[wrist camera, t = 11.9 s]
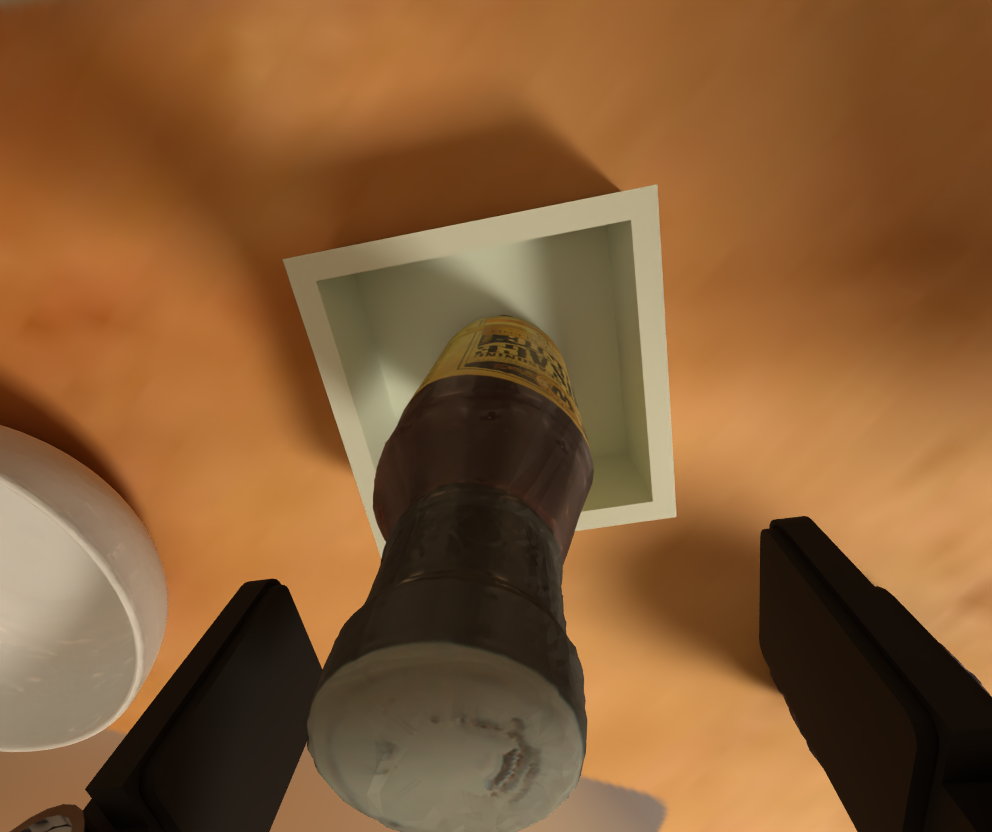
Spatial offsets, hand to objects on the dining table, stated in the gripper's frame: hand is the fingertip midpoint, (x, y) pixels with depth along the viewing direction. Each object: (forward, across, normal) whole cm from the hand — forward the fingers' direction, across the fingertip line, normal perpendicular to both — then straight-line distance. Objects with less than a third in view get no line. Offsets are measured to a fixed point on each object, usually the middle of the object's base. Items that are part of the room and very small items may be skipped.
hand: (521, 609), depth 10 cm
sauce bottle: (+17, +1, 0) cm, 17 cm away
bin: (+18, +1, 0) cm, 18 cm away
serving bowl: (+17, +31, +6) cm, 36 cm away
